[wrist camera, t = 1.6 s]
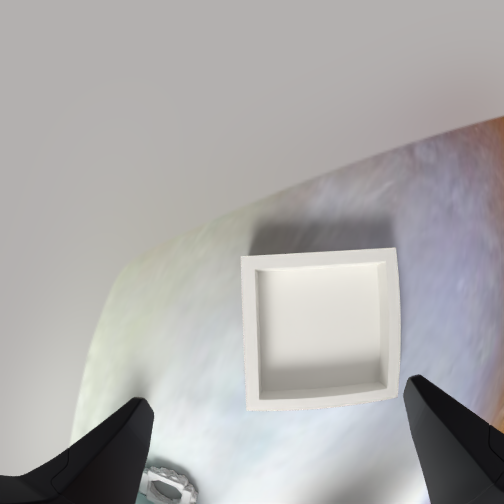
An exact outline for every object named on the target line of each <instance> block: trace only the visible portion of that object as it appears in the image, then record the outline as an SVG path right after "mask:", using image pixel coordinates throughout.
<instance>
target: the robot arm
mask: <svg viewBox="0 0 504 504" xmlns="http://www.w3.org/2000/svg"><path fill="white" fill-rule="evenodd" d="M403 397H404V402H405V407H406V411H407V416H408V420H409V425H410V430H411V435H412V438H413V441H414V444H415V448H416V451H417V454H418V457H419V461H420V464H421V468H422V471H423V475H424V478H425V482H426V486H427V490H428V494H429V498H430V502H431V504H504V434H503V433H502V432H500V431H499V430H497V429H496V428H494V427H493V426H492V425H489V423H487V422H486V421H485V420H483V419H482V418H480V417H479V416H478V415H476V414H475V413H473V412H472V411H471V410H469V409H468V408H466V407H465V406H464V405H462V404H461V403H459V402H458V401H457V400H455V399H454V398H452V397H451V396H450V395H448V394H447V393H445V392H444V391H443V390H441V389H440V388H438V387H437V386H436V385H434V384H433V383H431V382H430V381H429V380H427V379H426V378H424V377H423V376H422V375H415V376H411V377H409V378H408V380H407V383H406V387H405V390H404V394H403ZM153 421H154V412H153V410H152V408H151V407H150V405H149V404H148V402H147V400H146V399H145V398H141V397H134V398H132V399H131V400H130V401H128V402H127V403H126V404H125V405H123V406H122V407H121V408H120V409H118V410H117V411H116V412H115V413H113V414H112V415H111V416H110V417H108V418H107V419H106V420H104V421H103V422H102V423H101V424H99V425H98V426H97V427H95V428H94V429H93V430H91V431H90V432H89V433H88V434H86V435H85V436H84V437H82V438H81V439H80V440H78V441H77V442H76V443H74V444H73V445H72V446H70V448H67V449H66V450H65V451H63V452H62V453H61V454H59V455H58V456H56V457H55V458H53V459H52V460H50V461H48V462H47V463H45V464H43V465H41V466H40V467H38V468H36V469H34V470H32V471H30V472H28V473H27V474H24V475H21V476H3V475H0V504H135V503H136V499H137V495H138V491H139V487H140V483H141V479H142V475H143V471H144V467H145V463H146V460H147V456H148V452H149V447H150V440H151V434H152V427H153Z"/></svg>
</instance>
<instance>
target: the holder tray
mask: <svg viewBox="0 0 504 504" xmlns="http://www.w3.org/2000/svg"><path fill="white" fill-rule="evenodd" d="M241 281H242V312H243V339H244V364H245V388H246V410H247V411H290V410H309V409H322V408H332V407H341V406H350V405H357V404H364V403H370V402H376V401H382V400H387V399H392V398H397V397H398V386H399V372H400V348H401V315H400V290H399V275H398V264H397V254H396V248H379V249H362V250H345V251H327V252H310V253H292V254H274V255H256V256H241Z"/></svg>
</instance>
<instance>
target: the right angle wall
mask: <svg viewBox="0 0 504 504" xmlns="http://www.w3.org/2000/svg"><path fill="white" fill-rule="evenodd" d="M156 480H160V481H162V482H164V483H167V484H169V485H172V486H174V487H176V488H177V489H178V490H179V492H180V493H181V494H182V496H181V499H169V498H167V497H166V496H164V495H162V494H161V493H159V492H158V491H157V489H156V487H155V486H154V484H153V482H152V481H156ZM194 490H195V488H193V485H191V484H190V483H189V481H188V479H187V478H186V476H185V475H178V474H177V473H176V472H175V471H174V470H167V468H163V467H161V468H160V469H158V468H156V467H154V466H151V468H150V469H148V468H145V470H144V472H143V475H142V479H141V483H140V489H139V491H140V492H141V493H143V494H145V495H147V496H146V497H145V496H144V495H142V494H141V493H139V492H138V495H137V499H136V503H135V504H195V501H197V500H196V499H197V495H198V492H196V491H194Z"/></svg>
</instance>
